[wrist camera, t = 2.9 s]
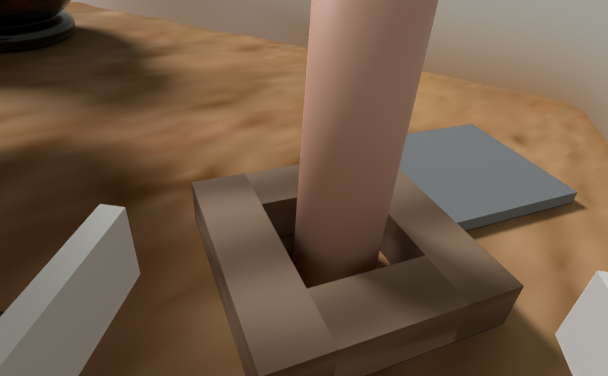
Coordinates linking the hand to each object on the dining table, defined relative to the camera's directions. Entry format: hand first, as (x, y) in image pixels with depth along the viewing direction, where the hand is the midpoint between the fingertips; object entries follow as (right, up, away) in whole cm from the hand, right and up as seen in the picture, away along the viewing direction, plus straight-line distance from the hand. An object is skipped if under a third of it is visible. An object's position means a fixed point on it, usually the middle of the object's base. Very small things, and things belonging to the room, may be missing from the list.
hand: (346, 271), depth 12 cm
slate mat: (+12, +4, +23) cm, 26 cm away
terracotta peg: (+1, -2, +14) cm, 14 cm away
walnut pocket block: (+1, -2, +14) cm, 14 cm away
